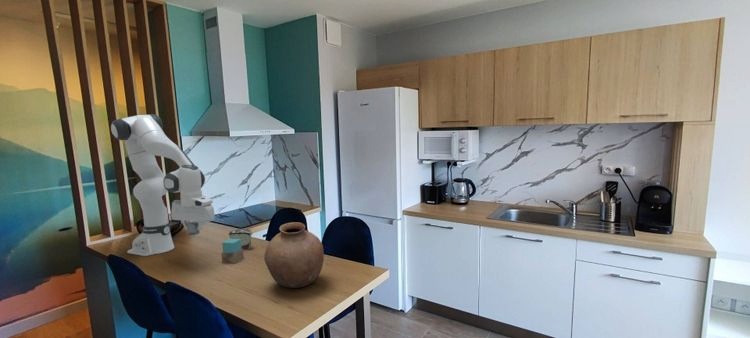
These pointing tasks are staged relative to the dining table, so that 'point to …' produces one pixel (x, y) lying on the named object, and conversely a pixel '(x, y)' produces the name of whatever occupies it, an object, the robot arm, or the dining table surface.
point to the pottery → (294, 256)
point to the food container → (242, 237)
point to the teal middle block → (231, 245)
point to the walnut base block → (232, 257)
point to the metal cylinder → (192, 228)
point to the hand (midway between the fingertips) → (193, 229)
